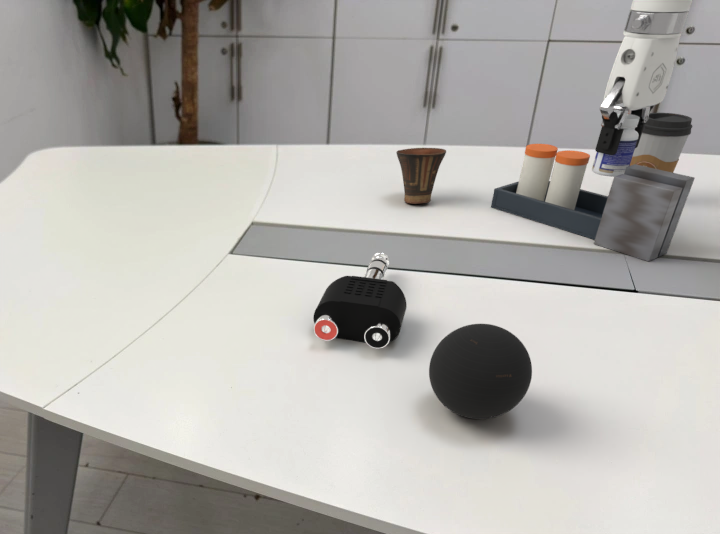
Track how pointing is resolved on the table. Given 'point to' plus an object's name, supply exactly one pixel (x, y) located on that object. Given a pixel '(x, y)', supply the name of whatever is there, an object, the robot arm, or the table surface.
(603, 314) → the table surface
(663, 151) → the coffee cup
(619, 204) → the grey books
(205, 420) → the table surface
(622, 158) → the pill bottle
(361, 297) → the audio adapter
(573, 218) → the tray
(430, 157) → the cup
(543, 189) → the white bottles
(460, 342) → the speaker
